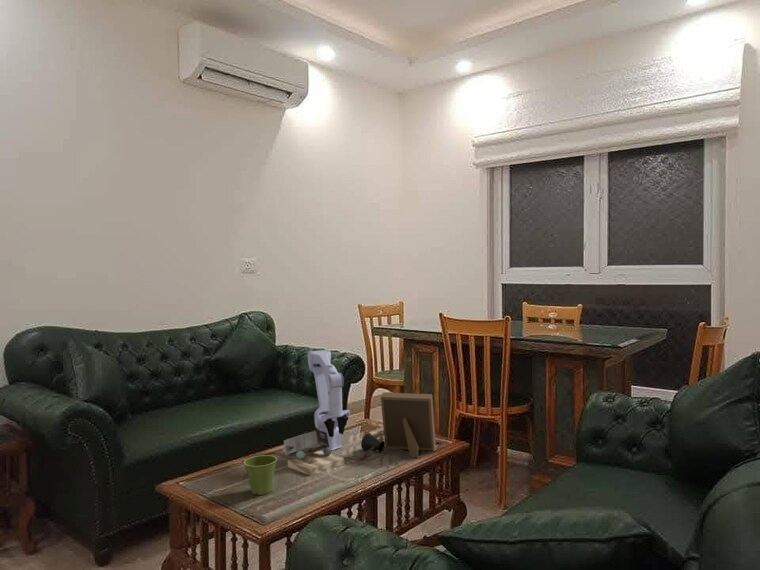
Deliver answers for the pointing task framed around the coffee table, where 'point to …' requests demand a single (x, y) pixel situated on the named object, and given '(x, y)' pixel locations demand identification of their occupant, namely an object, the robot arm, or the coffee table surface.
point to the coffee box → (306, 443)
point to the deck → (315, 463)
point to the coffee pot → (371, 445)
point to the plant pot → (261, 473)
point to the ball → (327, 451)
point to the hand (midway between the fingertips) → (336, 435)
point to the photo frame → (408, 421)
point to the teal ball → (300, 454)
